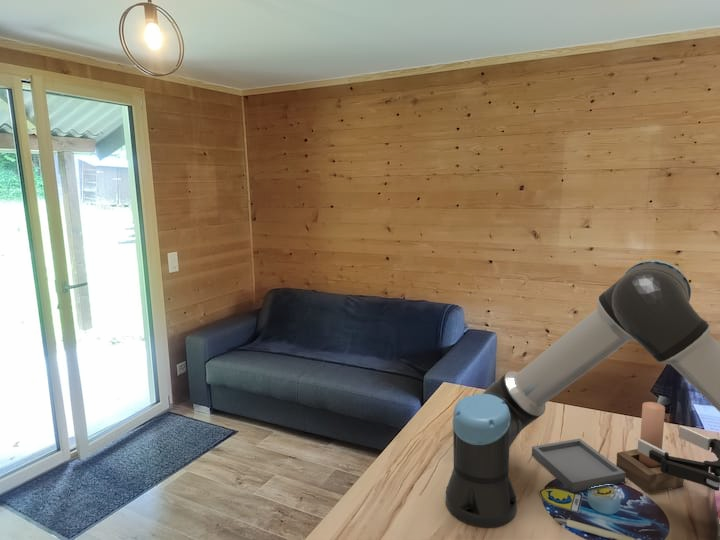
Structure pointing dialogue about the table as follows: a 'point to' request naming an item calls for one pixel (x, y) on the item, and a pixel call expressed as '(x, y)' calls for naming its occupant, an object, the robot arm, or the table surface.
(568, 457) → the tray
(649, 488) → the socket block
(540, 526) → the table surface
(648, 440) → the dowel
